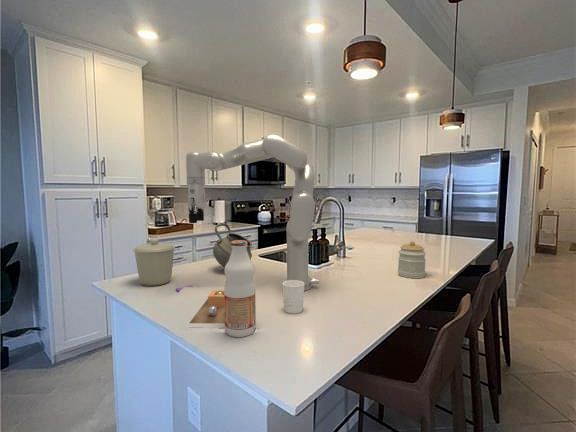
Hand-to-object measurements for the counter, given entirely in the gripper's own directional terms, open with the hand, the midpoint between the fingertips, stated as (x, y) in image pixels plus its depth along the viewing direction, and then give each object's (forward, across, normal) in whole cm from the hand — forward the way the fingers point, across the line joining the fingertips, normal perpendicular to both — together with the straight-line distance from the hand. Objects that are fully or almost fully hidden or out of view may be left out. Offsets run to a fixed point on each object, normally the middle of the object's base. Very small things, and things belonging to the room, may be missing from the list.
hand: (196, 221), depth 138 cm
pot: (+30, +32, -9) cm, 44 cm away
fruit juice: (+30, -41, -26) cm, 57 cm away
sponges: (+30, -6, +2) cm, 31 cm away
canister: (+30, +8, +22) cm, 38 cm away
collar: (+28, -22, -15) cm, 39 cm away
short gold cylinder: (+28, -22, -15) cm, 39 cm away
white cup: (+30, -24, -42) cm, 57 cm away
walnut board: (+30, -28, -15) cm, 43 cm away
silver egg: (+28, -33, -15) cm, 46 cm away
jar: (+29, +24, -101) cm, 108 cm away
